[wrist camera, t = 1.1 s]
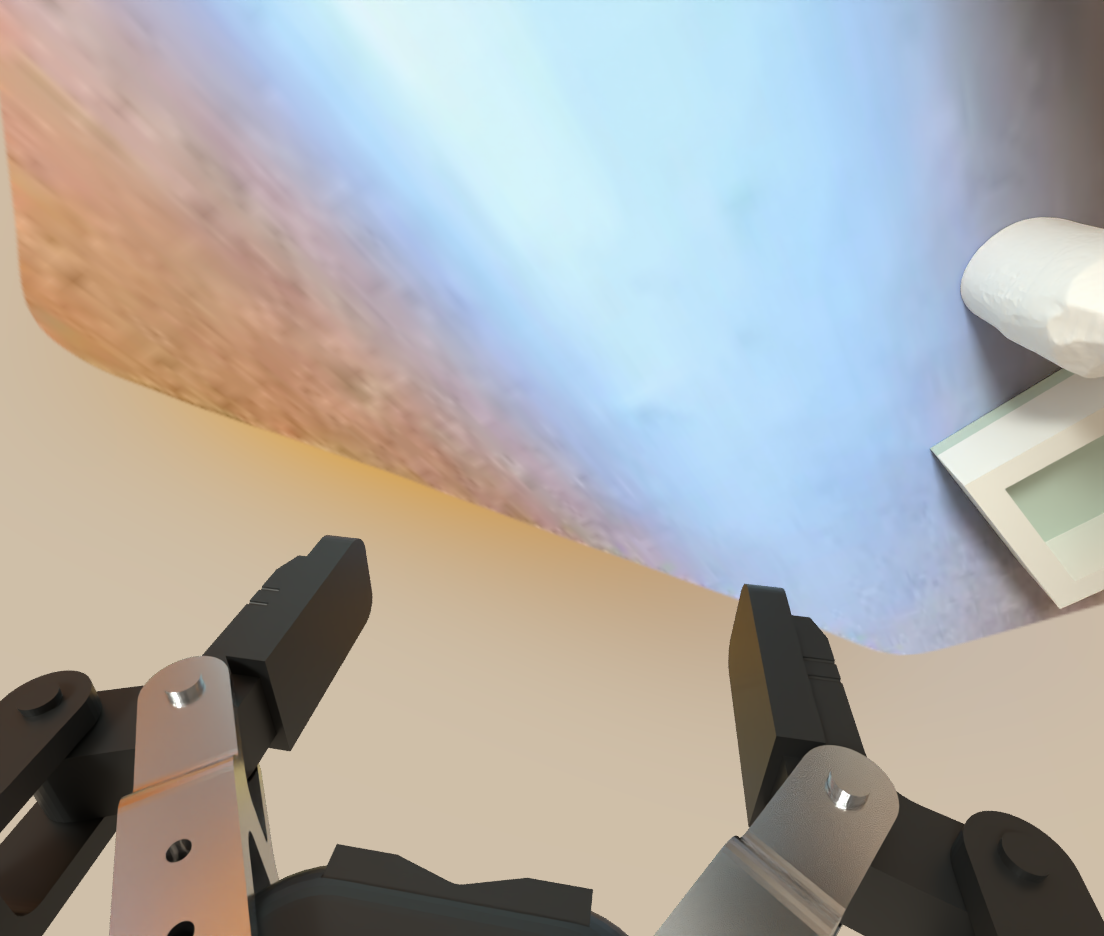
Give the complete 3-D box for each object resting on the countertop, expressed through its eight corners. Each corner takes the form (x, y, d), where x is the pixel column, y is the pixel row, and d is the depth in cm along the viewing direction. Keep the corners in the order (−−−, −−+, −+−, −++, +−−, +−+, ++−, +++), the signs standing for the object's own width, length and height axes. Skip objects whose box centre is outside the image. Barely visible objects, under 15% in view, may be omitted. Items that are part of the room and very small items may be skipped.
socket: (1123, 331, 32) (1190, 358, 28) (1208, 467, 34) (1281, 509, 31) (929, 448, 36) (963, 485, 32) (1018, 561, 39) (1060, 609, 35)
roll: (1352, 241, 19) (1294, 408, 21) (1102, 205, 29) (1082, 320, 32) (1125, 277, 20) (1094, 431, 23) (962, 230, 31) (953, 338, 33)
